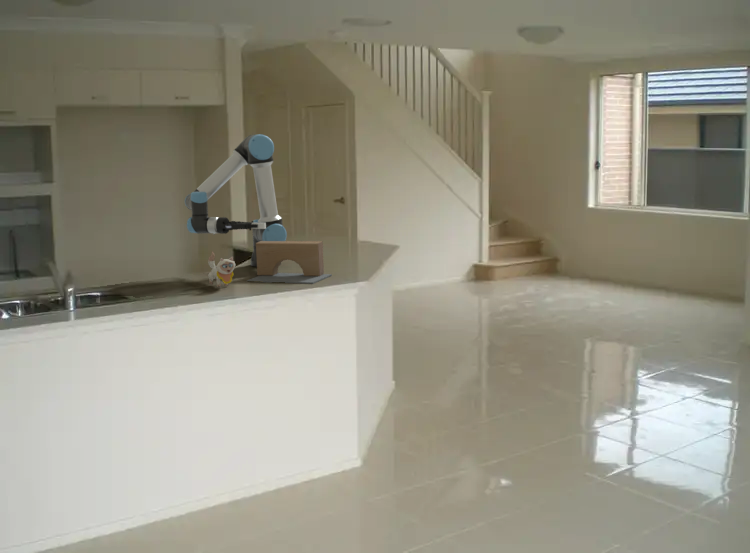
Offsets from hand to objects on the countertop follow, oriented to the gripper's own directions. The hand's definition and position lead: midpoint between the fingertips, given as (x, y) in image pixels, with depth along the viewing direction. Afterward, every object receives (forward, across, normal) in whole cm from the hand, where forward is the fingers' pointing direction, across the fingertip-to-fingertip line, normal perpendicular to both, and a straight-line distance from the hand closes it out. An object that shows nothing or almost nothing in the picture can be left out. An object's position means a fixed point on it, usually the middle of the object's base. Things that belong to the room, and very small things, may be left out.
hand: (265, 225), depth 408 cm
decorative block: (-5, -1, -15) cm, 16 cm away
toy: (-9, +30, -24) cm, 39 cm away
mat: (+13, +5, -23) cm, 27 cm away
